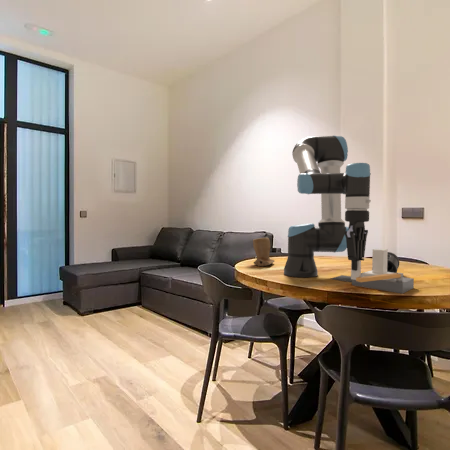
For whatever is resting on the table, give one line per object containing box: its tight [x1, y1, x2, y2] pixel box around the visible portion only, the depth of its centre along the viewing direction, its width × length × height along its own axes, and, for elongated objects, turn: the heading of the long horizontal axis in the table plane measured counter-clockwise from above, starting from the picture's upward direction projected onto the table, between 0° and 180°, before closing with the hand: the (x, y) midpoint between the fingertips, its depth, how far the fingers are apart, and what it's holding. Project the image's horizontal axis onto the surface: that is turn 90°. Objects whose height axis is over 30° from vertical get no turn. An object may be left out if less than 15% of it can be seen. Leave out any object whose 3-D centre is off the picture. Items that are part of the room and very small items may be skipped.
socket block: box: [351, 272, 415, 295], centre depth 121 cm, size 18×12×6 cm, turn 44°
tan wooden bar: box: [356, 272, 404, 282], centre depth 110 cm, size 21×2×1 cm, turn 115°
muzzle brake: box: [387, 251, 400, 273], centre depth 140 cm, size 10×28×10 cm, turn 150°
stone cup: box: [252, 237, 275, 267], centre depth 175 cm, size 15×12×15 cm
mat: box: [330, 274, 352, 283], centre depth 135 cm, size 11×11×1 cm
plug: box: [362, 248, 393, 280], centre depth 122 cm, size 9×9×14 cm
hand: (355, 279), depth 108 cm, fingers closed
